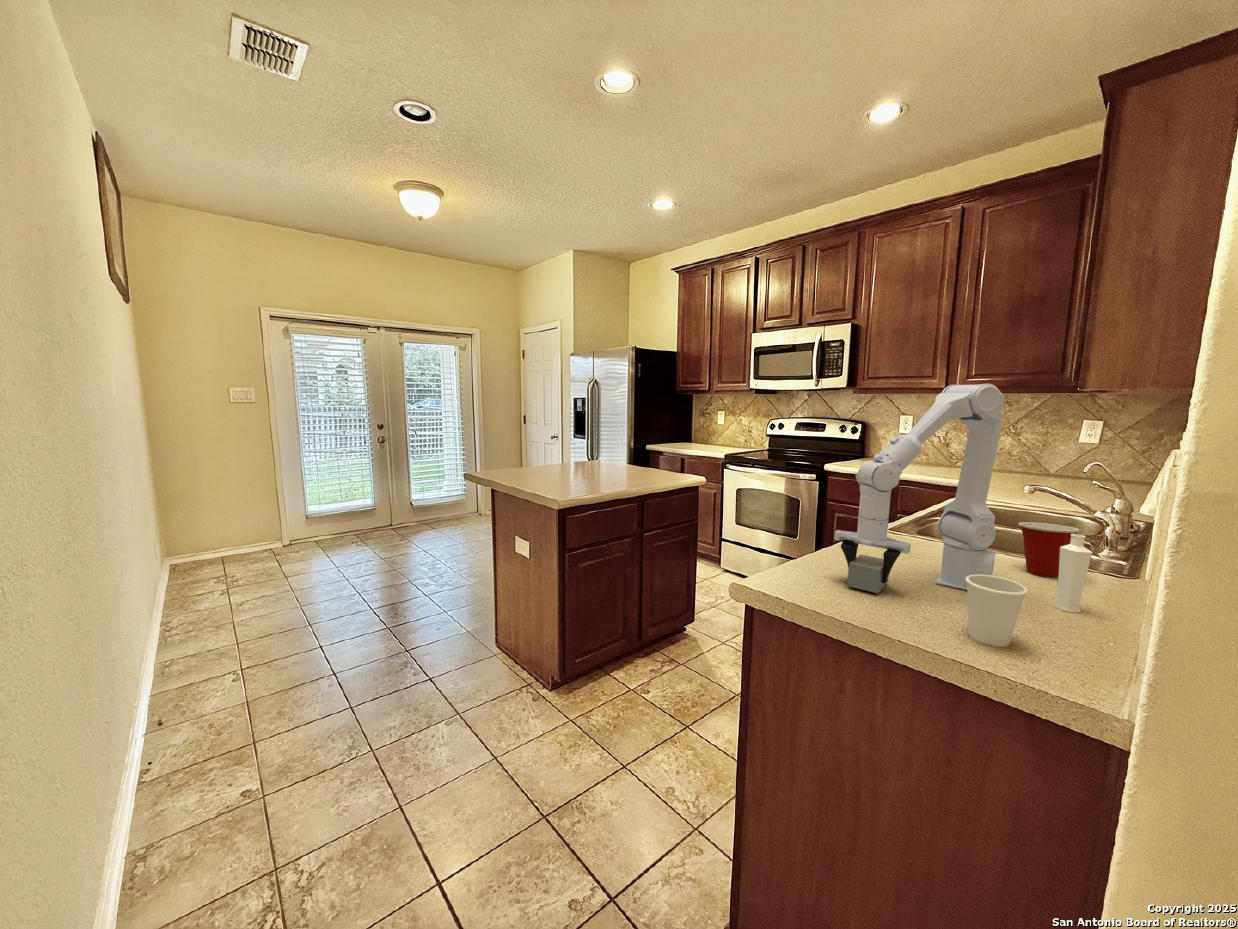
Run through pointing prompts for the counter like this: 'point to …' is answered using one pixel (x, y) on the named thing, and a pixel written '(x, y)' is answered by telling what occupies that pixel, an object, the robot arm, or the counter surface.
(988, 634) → the dixie cup
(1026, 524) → the plastic cup
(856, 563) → the gray block
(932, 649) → the counter surface
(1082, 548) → the perfume bottle
